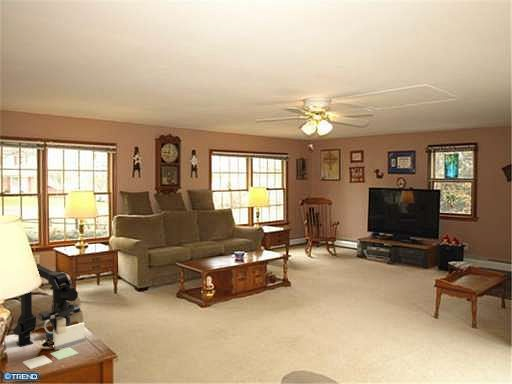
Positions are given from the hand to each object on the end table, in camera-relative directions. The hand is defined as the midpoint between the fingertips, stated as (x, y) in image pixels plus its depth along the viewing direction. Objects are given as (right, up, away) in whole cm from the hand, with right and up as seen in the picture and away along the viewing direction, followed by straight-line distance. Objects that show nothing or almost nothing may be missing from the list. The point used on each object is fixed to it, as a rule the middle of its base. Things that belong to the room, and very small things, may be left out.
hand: (59, 329), depth 210 cm
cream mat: (-7, -13, -9) cm, 17 cm away
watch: (-14, -12, +21) cm, 28 cm away
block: (0, -2, 0) cm, 2 cm away
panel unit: (-4, -12, +16) cm, 20 cm away
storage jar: (-15, -11, +33) cm, 38 cm away
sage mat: (+2, -13, +1) cm, 13 cm away
